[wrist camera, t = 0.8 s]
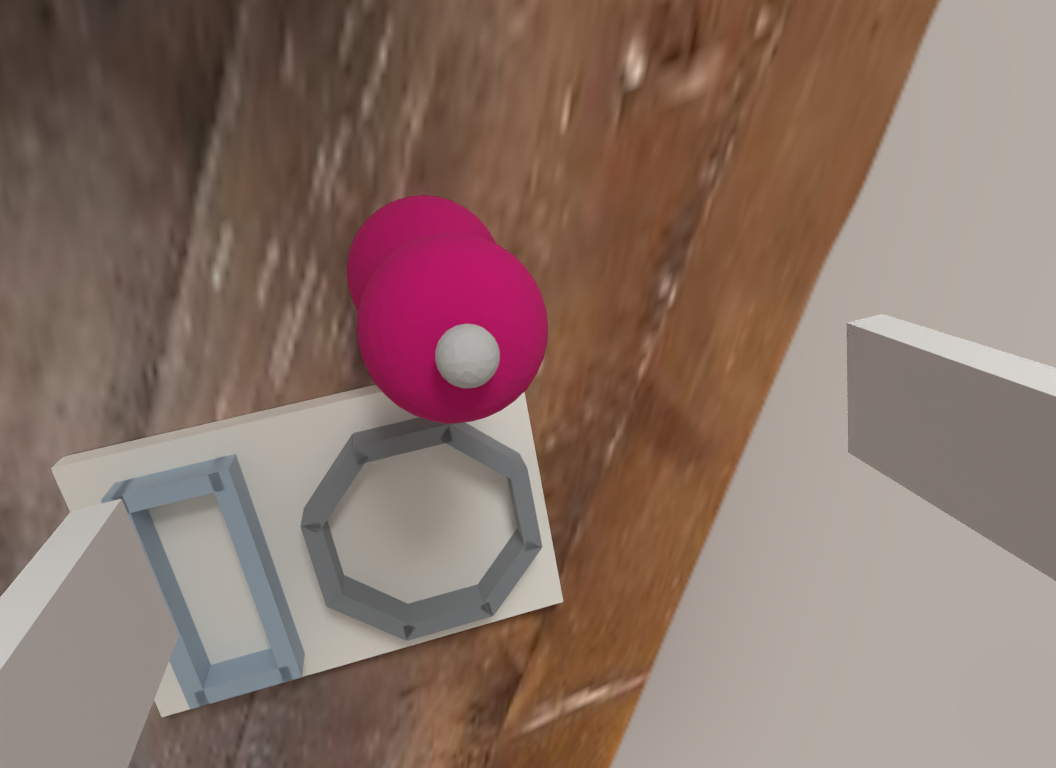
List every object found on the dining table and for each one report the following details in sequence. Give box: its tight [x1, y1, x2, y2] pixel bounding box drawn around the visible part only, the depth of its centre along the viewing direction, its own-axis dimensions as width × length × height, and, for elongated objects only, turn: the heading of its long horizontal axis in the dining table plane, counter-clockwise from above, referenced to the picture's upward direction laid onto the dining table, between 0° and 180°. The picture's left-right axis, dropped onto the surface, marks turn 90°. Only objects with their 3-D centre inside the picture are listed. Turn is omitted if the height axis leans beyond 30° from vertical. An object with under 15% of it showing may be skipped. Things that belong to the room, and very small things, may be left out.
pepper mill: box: [347, 195, 548, 424], centre depth 28 cm, size 7×7×20 cm
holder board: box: [51, 385, 563, 717], centre depth 39 cm, size 16×24×4 cm, turn 100°
